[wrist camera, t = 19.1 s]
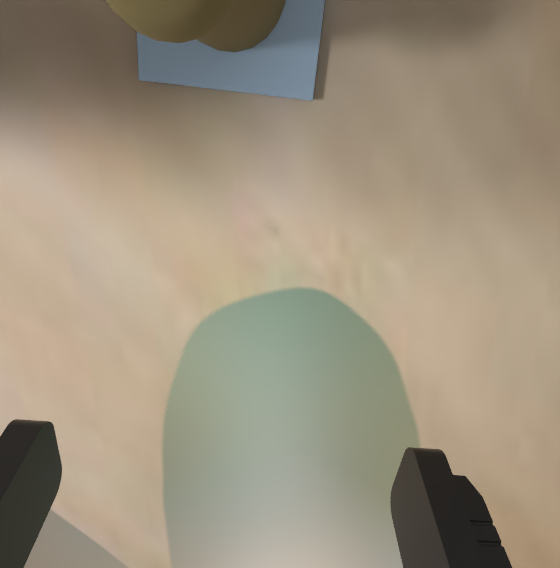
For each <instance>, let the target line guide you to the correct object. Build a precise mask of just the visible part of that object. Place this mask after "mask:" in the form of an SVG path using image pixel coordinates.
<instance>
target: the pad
mask: <svg viewBox="0 0 560 568" xmlns="http://www.w3.org/2000/svg"><path fill="white" fill-rule="evenodd" d="M324 5H325V0H286V1H285V5H284V8H283V11H282V14H281V16H280V19H279V22H278V23H277V25H276V26H275V27H274V29H273V30H272V31H271V33H270V34H269V35H268V37H267V38H266V39H264V40H263V41H261V42H260V43H258V44H257V45H256V46H254V47H253V48H250V49H246V50H242V51H238V52H227V51H218V50H216V49H214V48H212V47H210V46H208V45H206V44H203V43H202V42H200V41H198V40H196V39H195V40H191V41H188V42H184V43H173V42H163V41H155V40H153V39H151V38H149V37H147V36H145V35H143V34H141V33H139V32H137V51H138V75H139V80H141V81H150V82H158V83H167V84H175V85H184V86H192V87H201V88H209V89H218V90H226V91H235V92H243V93H252V94H260V95H269V96H277V97H286V98H294V99H303V100H311V101H313V95H314V87H315V79H316V71H317V62H318V54H319V46H320V38H321V29H322V21H323V13H324Z"/></svg>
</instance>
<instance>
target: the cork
mask: <svg viewBox="0 0 560 568" xmlns="http://www.w3.org/2000/svg"><path fill="white" fill-rule="evenodd" d="M285 1H286V0H106V2H107V3H108V5H109V7H110V8H111V10H112V11H113V12H115V13H116V14H117V15H118V16H119V17H120V18H121V19H122V20H123V21H124V22H125V23H127V24H128V25H129V26H130V27H131V28H132V29H133V30H135V31H136V32H139V33H141V34H143V35H145V36H147V37H149V38H151V39H153V40H155V41H163V42H173V43H184V42H188V41H191V40H195V39H196V40H198V41H200V42H202V43H203V44H206V45H208V46H210V47H212V48H214V49H216V50H218V51H227V52H238V51H242V50H246V49H250V48H253V47H254V46H256V45H257V44H258V43H260V42H261V41H263V40H264V39H266V38H267V37H268V35H269V34H270V33H271V31H272V30H273V29H274V27H275V26H276V25H277V23H278V22H279V19H280V16H281V14H282V11H283V8H284V5H285Z"/></svg>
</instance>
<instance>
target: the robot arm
mask: <svg viewBox="0 0 560 568" xmlns="http://www.w3.org/2000/svg"><path fill="white" fill-rule="evenodd" d="M61 475H62V465H61V460H60V455H59V450H58V445H57V440H56V435H55V430H54V426H53V424H52V423H51V422H48V421H33V420H18V419H16V420H13V421H12V422H10V423H9V424H8V426H7V427H6V429H5V430H4V432H3V433H2V435H1V436H0V568H23V567H24V565H25V563H26V561H27V559H28V556H29V554H30V552H31V550H32V547H33V545H34V543H35V541H36V539H37V537H38V534H39V532H40V530H41V528H42V525H43V523H44V521H45V519H46V517H47V515H48V512H49V510H50V508H51V506H52V504H53V501H54V499H55V497H56V494H57V492H58V489H59V485H60V481H61ZM391 513H392V519H393V523H394V528H395V532H396V537H397V541H398V546H399V550H400V555H401V559H402V563H403V568H512V566H511V564H510V561H509V559H508V557H507V554H506V552H505V549H504V547H502V546H501V540H500V537H499V535H498V533H497V530H496V528H495V526H493V521H492V518H491V516H490V514H489V511H488V509H487V506H486V504H485V502H484V499H483V497H482V496H481V495H480V493H479V492H478V491H477V490H476V489H475V487H474V486H473V485H472V484H471V482H470V481H469V480H468V479H467V478H466V476H459V475H453V474H452V472H451V469H450V466H449V464H448V461H447V458H446V456H445V454H444V453H443V451H441V450H439V449H425V448H410V447H409V448H407V449H406V450H405V453H404V456H403V458H402V461H401V464H400V467H399V470H398V472H397V475H396V478H395V481H394V484H393V487H392V491H391Z"/></svg>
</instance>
